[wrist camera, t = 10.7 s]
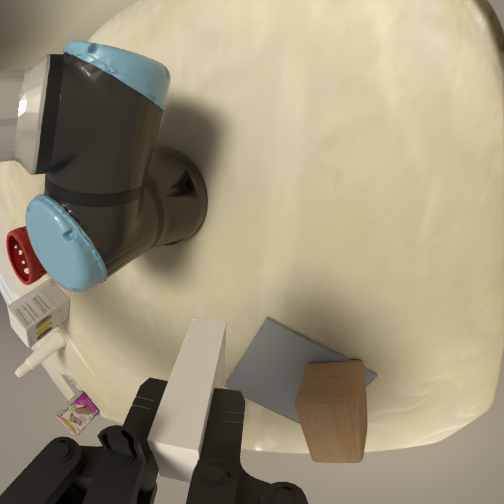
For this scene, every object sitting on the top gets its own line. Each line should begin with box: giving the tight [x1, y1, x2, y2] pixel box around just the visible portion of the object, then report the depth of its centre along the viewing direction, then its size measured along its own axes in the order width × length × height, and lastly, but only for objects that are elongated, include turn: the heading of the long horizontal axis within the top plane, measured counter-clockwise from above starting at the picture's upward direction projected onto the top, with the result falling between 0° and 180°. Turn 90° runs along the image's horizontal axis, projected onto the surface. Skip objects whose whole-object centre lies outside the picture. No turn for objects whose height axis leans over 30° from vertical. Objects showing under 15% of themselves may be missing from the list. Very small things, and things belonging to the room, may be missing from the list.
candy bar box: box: [56, 391, 100, 436], centre depth 89 cm, size 11×5×16 cm, turn 24°
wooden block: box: [294, 360, 367, 463], centre depth 45 cm, size 10×10×20 cm
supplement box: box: [7, 279, 70, 348], centre depth 64 cm, size 10×9×17 cm
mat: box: [225, 317, 378, 424], centre depth 52 cm, size 22×22×1 cm
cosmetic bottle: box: [15, 331, 66, 377], centre depth 72 cm, size 6×6×22 cm
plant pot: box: [6, 226, 47, 285], centre depth 57 cm, size 13×13×12 cm
